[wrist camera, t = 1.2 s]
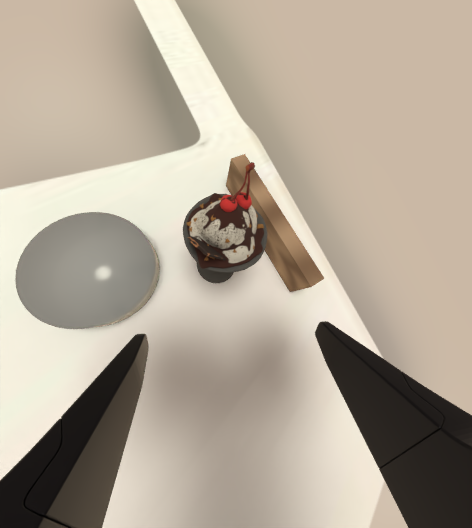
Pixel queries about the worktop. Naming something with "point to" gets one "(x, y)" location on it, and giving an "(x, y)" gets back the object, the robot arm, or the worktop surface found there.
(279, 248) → the brown wooden plank
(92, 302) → the slate plinth
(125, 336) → the worktop surface
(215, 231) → the sundae
